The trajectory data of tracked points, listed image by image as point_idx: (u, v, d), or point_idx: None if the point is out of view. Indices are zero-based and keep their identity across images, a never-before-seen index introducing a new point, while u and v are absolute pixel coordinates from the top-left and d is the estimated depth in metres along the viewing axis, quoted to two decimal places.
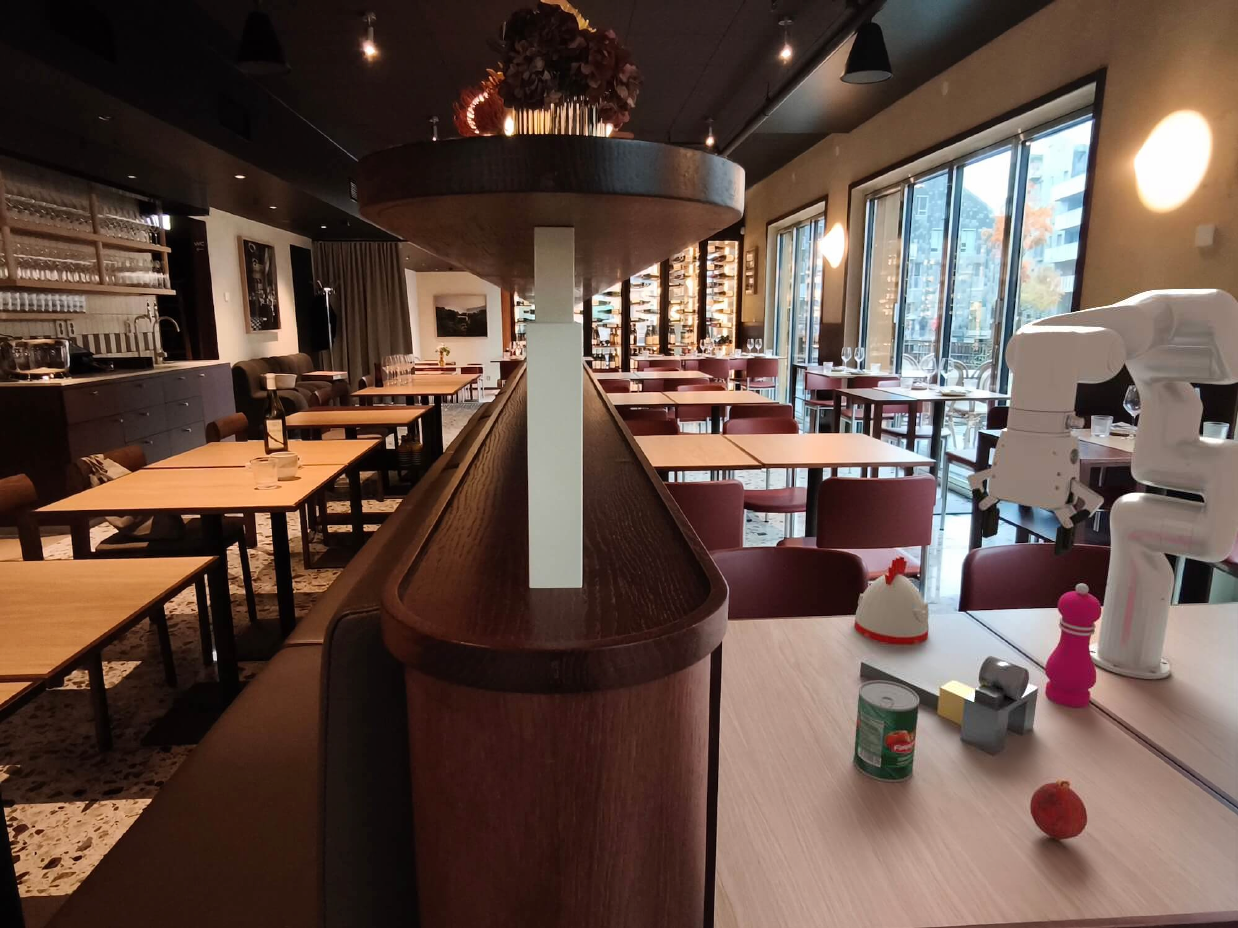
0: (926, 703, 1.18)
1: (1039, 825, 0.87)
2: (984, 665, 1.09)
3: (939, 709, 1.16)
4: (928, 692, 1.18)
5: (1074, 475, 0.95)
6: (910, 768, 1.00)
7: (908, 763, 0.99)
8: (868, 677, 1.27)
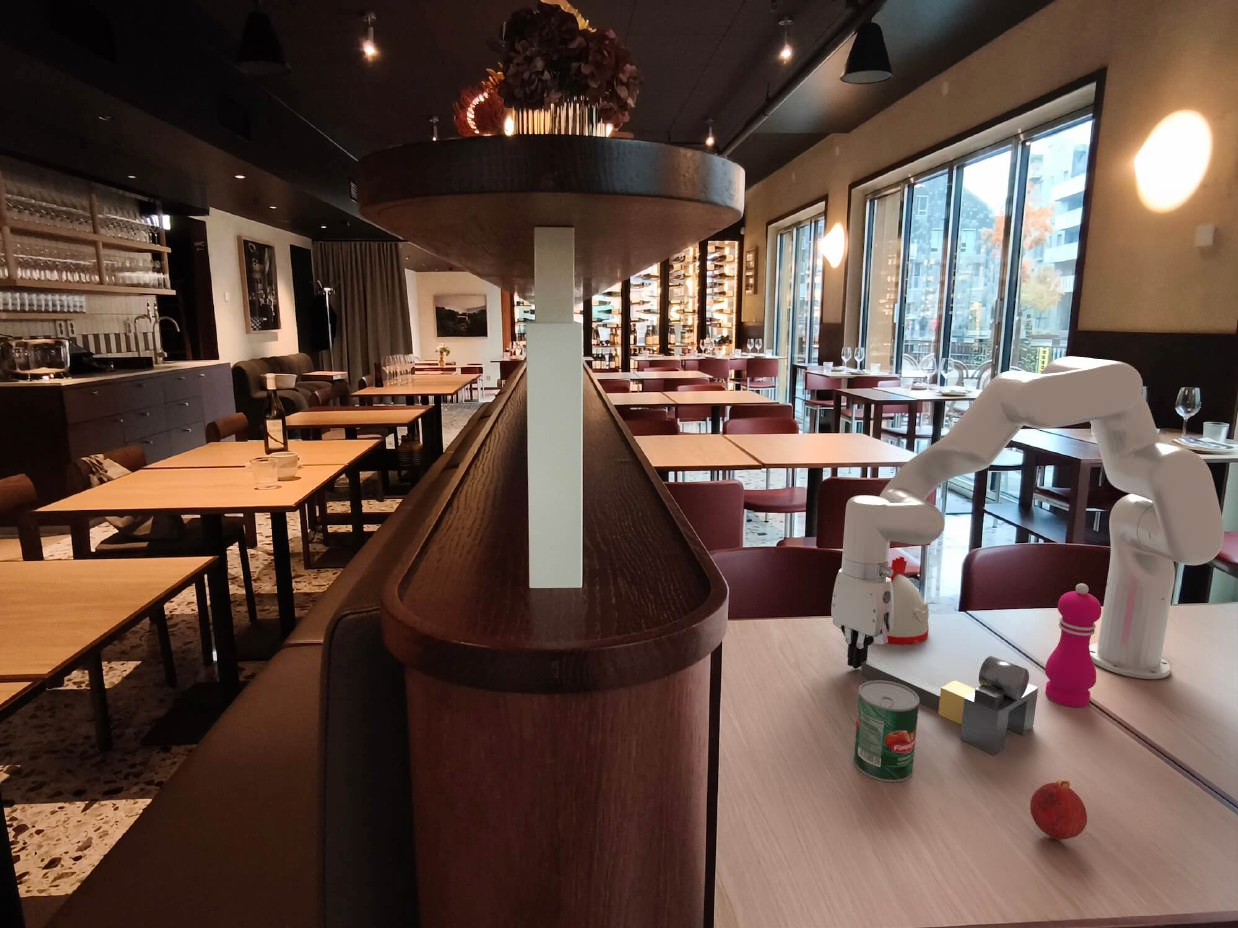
0: (927, 703, 1.18)
1: (1039, 825, 0.87)
2: (984, 665, 1.09)
3: (940, 709, 1.16)
4: (929, 692, 1.18)
5: (887, 611, 1.24)
6: (910, 768, 1.00)
7: (908, 763, 0.99)
8: (869, 677, 1.27)
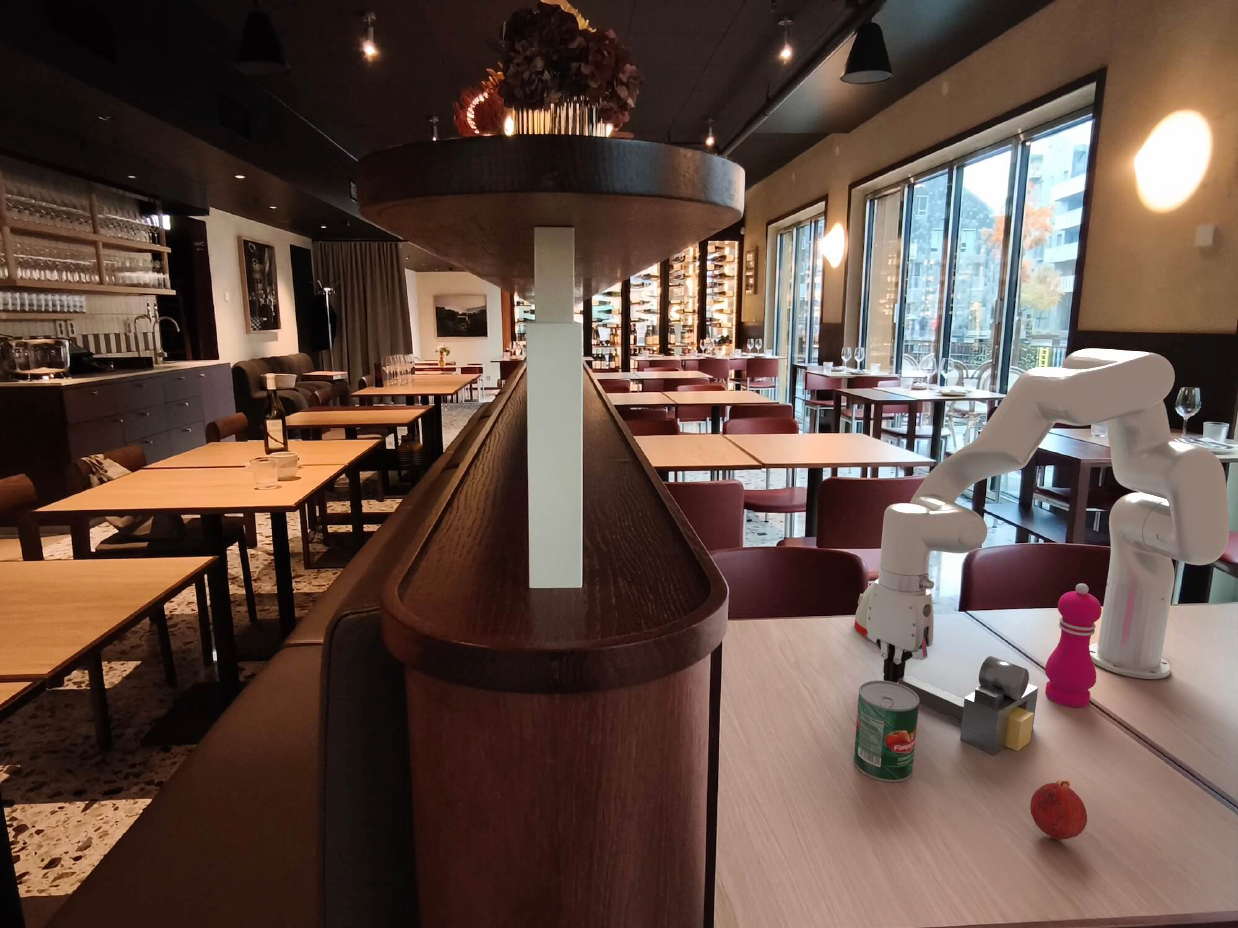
0: None
1: (1039, 825, 0.87)
2: (984, 665, 1.09)
3: None
4: None
5: (927, 625, 1.18)
6: (910, 768, 1.00)
7: (908, 763, 0.99)
8: None
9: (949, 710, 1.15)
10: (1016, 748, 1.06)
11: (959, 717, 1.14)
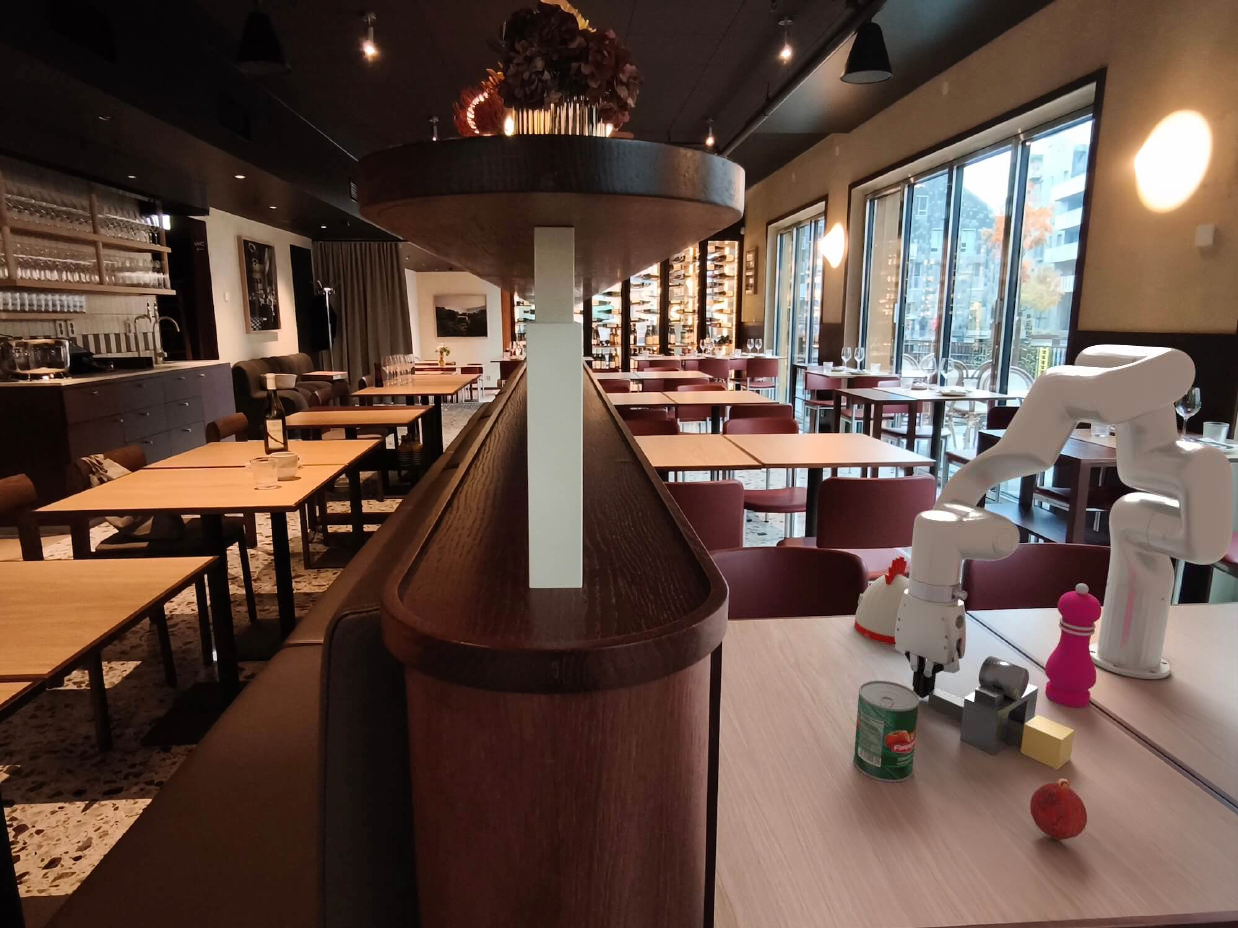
0: (1007, 740, 1.08)
1: (1039, 825, 0.87)
2: (984, 665, 1.09)
3: (1023, 748, 1.05)
4: (1009, 728, 1.08)
5: (960, 636, 1.14)
6: (910, 768, 1.00)
7: (908, 763, 0.99)
8: (937, 709, 1.17)
9: None
10: (1056, 766, 1.02)
11: None
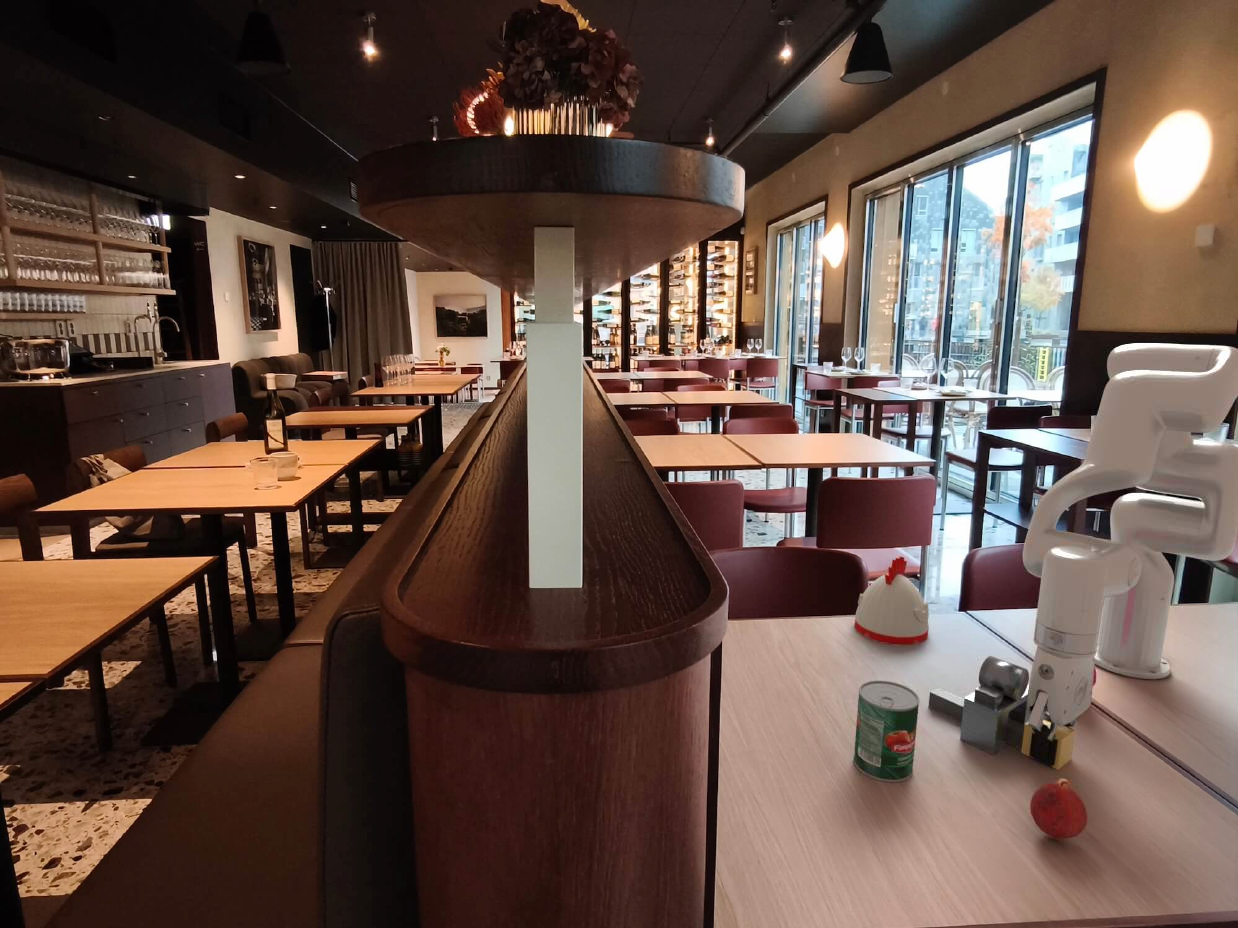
0: (1007, 740, 1.08)
1: (1039, 825, 0.87)
2: (984, 665, 1.09)
3: (1024, 748, 1.05)
4: (1010, 728, 1.08)
5: (1044, 689, 0.99)
6: (910, 768, 1.00)
7: (908, 763, 0.99)
8: (938, 709, 1.17)
9: None
10: (1057, 766, 1.02)
11: None
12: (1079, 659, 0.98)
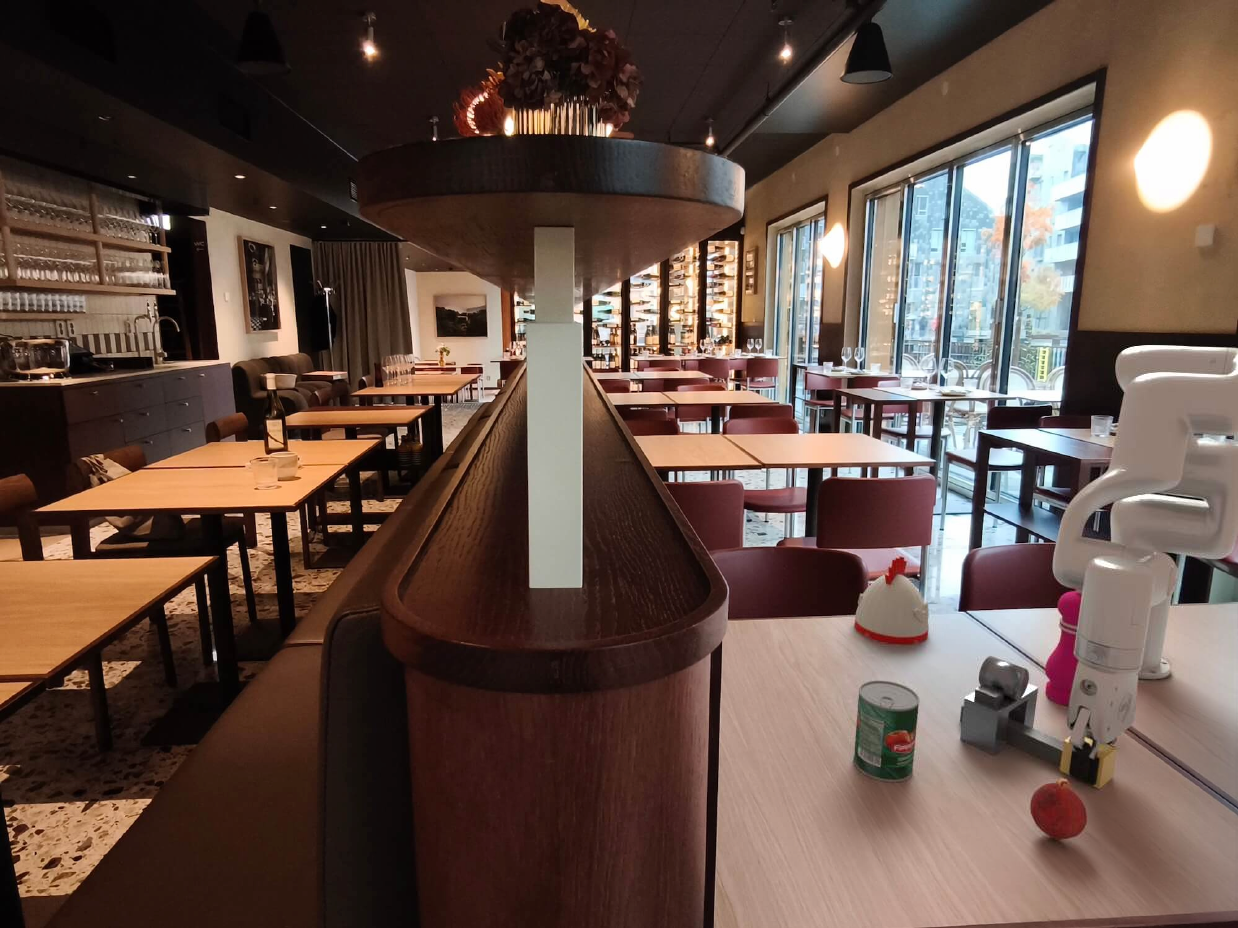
0: (1044, 757, 1.04)
1: (1039, 825, 0.87)
2: (984, 665, 1.09)
3: (1062, 765, 1.01)
4: (1047, 745, 1.03)
5: (1086, 706, 0.95)
6: (910, 768, 1.00)
7: (908, 763, 0.99)
8: None
9: (1020, 741, 1.07)
10: (1098, 786, 0.98)
11: (1031, 750, 1.05)
12: (1123, 674, 0.94)
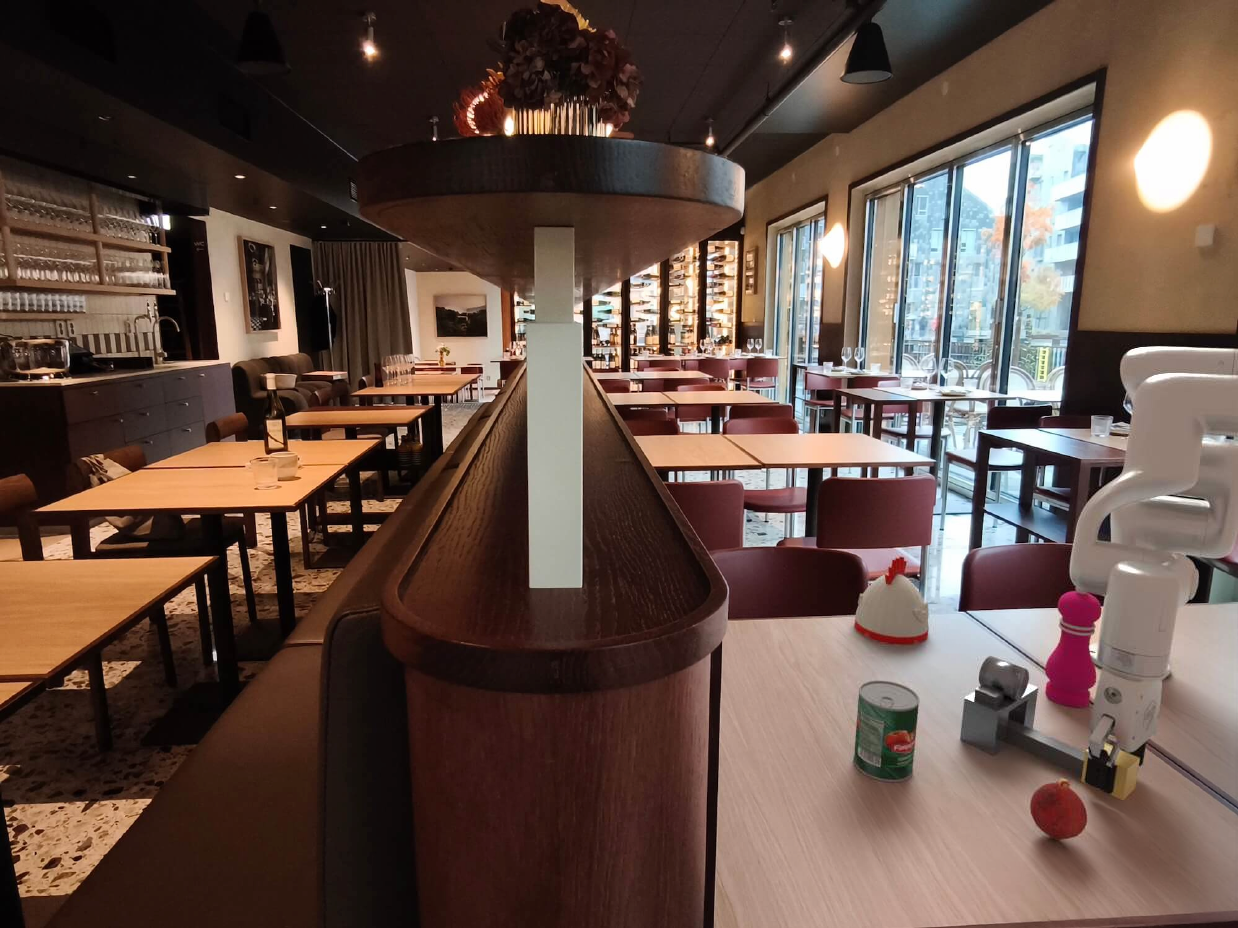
0: (1065, 767, 1.02)
1: (1039, 825, 0.87)
2: (984, 665, 1.09)
3: (1084, 776, 0.99)
4: (1068, 755, 1.01)
5: (1111, 714, 0.93)
6: (910, 768, 1.00)
7: (908, 763, 0.99)
8: None
9: (1039, 751, 1.04)
10: (1122, 797, 0.96)
11: (1051, 759, 1.03)
12: (1149, 682, 0.92)
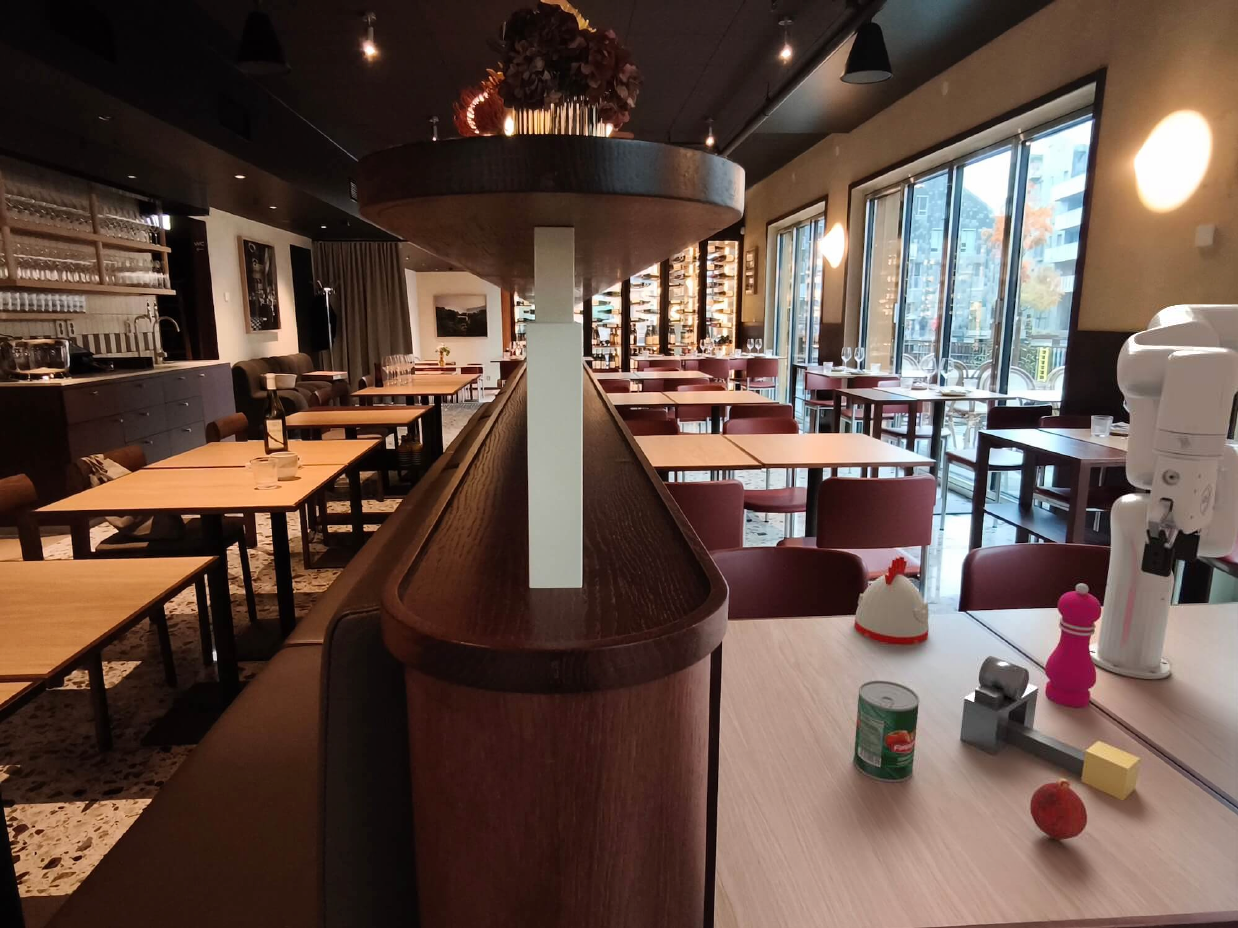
0: (1065, 767, 1.02)
1: (1039, 825, 0.87)
2: (984, 665, 1.09)
3: (1084, 776, 0.99)
4: (1068, 755, 1.01)
5: (1169, 496, 0.95)
6: (910, 768, 1.00)
7: (908, 763, 0.99)
8: None
9: (1039, 751, 1.04)
10: (1122, 797, 0.96)
11: (1051, 759, 1.03)
12: (1206, 463, 0.94)
